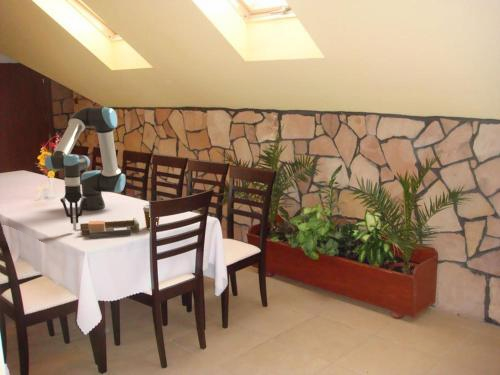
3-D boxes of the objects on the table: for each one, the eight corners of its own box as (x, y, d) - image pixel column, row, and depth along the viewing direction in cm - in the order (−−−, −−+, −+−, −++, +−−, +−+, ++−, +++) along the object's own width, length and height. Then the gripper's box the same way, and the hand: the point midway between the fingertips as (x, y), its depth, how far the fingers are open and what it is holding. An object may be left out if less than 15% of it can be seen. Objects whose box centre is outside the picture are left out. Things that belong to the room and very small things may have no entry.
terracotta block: (89, 230, 277) (89, 221, 276) (105, 229, 279) (104, 220, 278) (88, 233, 271) (88, 224, 270) (104, 233, 273) (103, 223, 272)
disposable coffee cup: (162, 225, 288) (161, 204, 286) (159, 230, 279) (159, 208, 277) (145, 225, 288) (144, 204, 286) (142, 230, 279) (141, 208, 276)
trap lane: (80, 229, 278) (80, 221, 278) (135, 225, 288) (135, 218, 287) (82, 239, 261) (81, 231, 260) (140, 234, 271) (140, 227, 270)
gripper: (59, 186, 261) (61, 232, 265) (86, 185, 265) (88, 230, 270) (59, 184, 267) (61, 228, 272) (85, 183, 272) (87, 226, 276)
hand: (74, 229), depth 271 cm, fingers closed
